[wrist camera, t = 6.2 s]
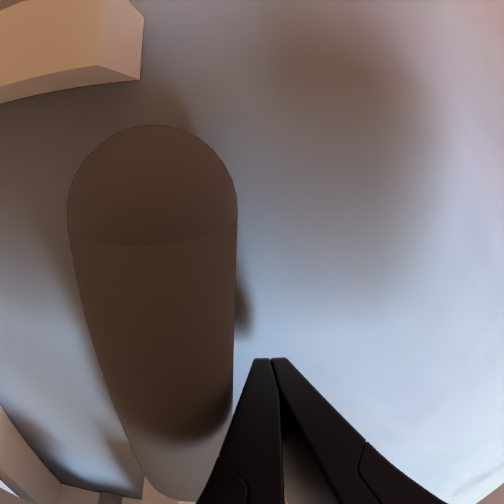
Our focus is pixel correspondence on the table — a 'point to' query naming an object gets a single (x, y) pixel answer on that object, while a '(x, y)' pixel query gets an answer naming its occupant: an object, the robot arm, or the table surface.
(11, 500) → the cover
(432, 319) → the table surface
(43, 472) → the long open tray
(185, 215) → the grey capsule bar
